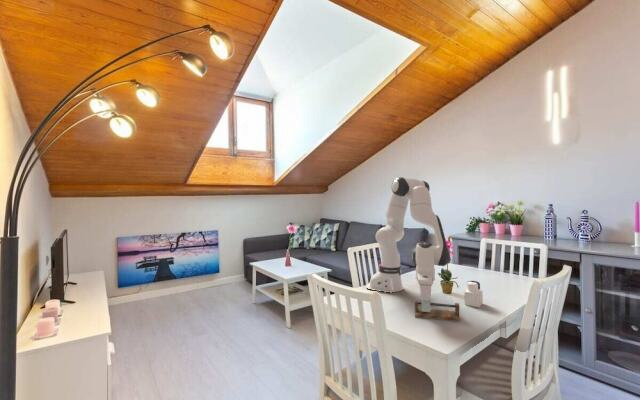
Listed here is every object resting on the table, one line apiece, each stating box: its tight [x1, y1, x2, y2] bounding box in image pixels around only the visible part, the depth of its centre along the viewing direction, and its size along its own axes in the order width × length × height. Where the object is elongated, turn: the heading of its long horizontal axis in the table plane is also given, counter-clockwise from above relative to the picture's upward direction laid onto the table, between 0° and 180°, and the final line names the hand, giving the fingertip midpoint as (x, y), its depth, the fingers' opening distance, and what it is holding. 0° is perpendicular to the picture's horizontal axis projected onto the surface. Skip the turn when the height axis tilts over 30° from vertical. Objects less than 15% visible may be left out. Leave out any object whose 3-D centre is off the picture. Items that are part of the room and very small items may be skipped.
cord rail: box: [414, 299, 461, 322], centre depth 150 cm, size 20×8×6 cm, turn 71°
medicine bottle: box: [464, 280, 484, 308], centre depth 162 cm, size 7×7×12 cm
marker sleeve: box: [420, 298, 431, 312], centre depth 151 cm, size 4×5×7 cm
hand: (425, 303), depth 151 cm, fingers closed on marker sleeve, 5 cm apart
